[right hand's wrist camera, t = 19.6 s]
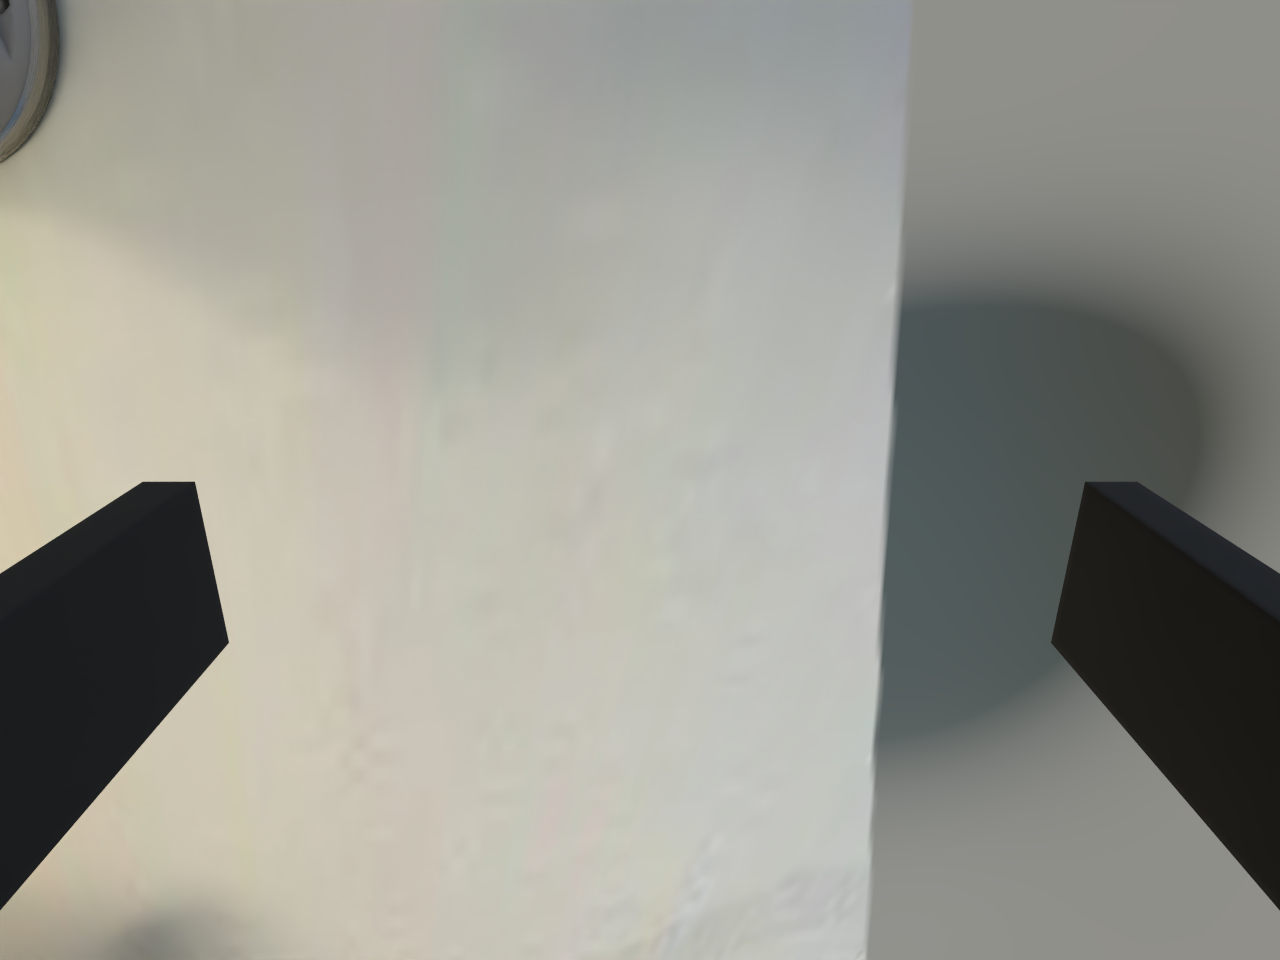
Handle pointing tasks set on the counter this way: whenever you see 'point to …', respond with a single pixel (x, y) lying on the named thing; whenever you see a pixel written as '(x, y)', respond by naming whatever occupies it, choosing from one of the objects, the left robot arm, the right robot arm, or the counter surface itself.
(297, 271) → the counter surface
